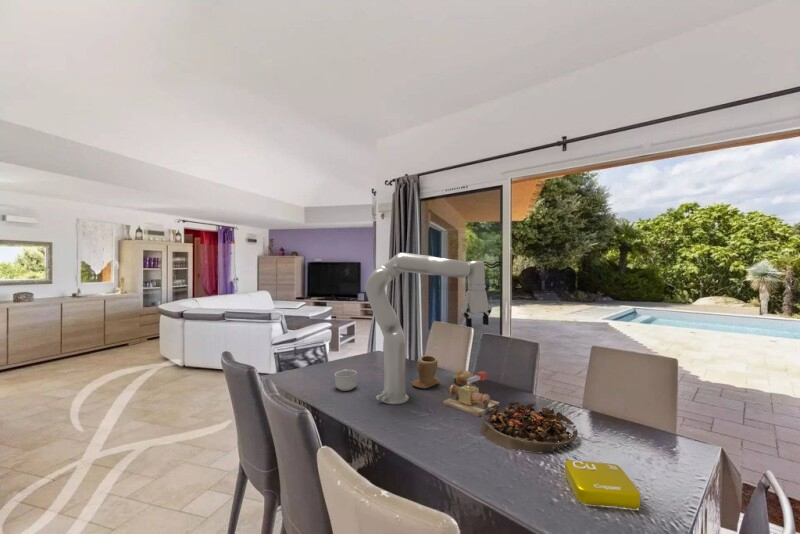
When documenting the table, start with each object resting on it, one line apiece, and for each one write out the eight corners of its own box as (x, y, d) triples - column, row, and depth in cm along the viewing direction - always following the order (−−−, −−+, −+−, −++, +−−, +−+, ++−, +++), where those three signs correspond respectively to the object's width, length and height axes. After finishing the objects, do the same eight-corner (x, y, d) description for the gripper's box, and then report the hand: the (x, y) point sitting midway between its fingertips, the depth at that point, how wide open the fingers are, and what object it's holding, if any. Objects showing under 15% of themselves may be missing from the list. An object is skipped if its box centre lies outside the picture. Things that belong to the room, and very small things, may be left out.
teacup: (355, 392, 175) (355, 376, 175) (332, 392, 176) (332, 375, 176) (359, 383, 189) (359, 367, 189) (337, 383, 190) (338, 367, 190)
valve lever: (470, 386, 158) (470, 378, 158) (465, 385, 160) (465, 377, 159) (486, 380, 167) (486, 372, 167) (481, 378, 168) (481, 371, 168)
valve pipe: (482, 410, 151) (483, 392, 151) (447, 399, 163) (447, 382, 163) (490, 406, 155) (490, 389, 155) (455, 395, 168) (455, 379, 168)
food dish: (532, 410, 158) (533, 392, 158) (599, 448, 127) (600, 425, 127) (460, 420, 146) (461, 400, 146) (516, 464, 115) (517, 439, 115)
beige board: (478, 416, 149) (478, 412, 149) (443, 404, 161) (443, 401, 161) (499, 405, 160) (499, 402, 160) (464, 395, 173) (464, 392, 173)
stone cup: (427, 392, 176) (427, 360, 176) (408, 386, 185) (408, 356, 185) (446, 384, 187) (446, 355, 187) (428, 379, 196) (428, 351, 195)
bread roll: (465, 394, 185) (471, 380, 183) (448, 381, 191) (454, 368, 189) (474, 388, 193) (480, 375, 191) (458, 376, 199) (464, 364, 196)
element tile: (578, 506, 94) (579, 487, 94) (562, 473, 109) (563, 457, 109) (643, 513, 92) (643, 493, 92) (618, 478, 107) (618, 461, 107)
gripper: (485, 286, 175) (486, 322, 176) (455, 288, 167) (457, 326, 167) (496, 287, 169) (497, 324, 169) (466, 289, 161) (467, 329, 161)
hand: (477, 325), depth 168 cm, fingers open, 9 cm apart
